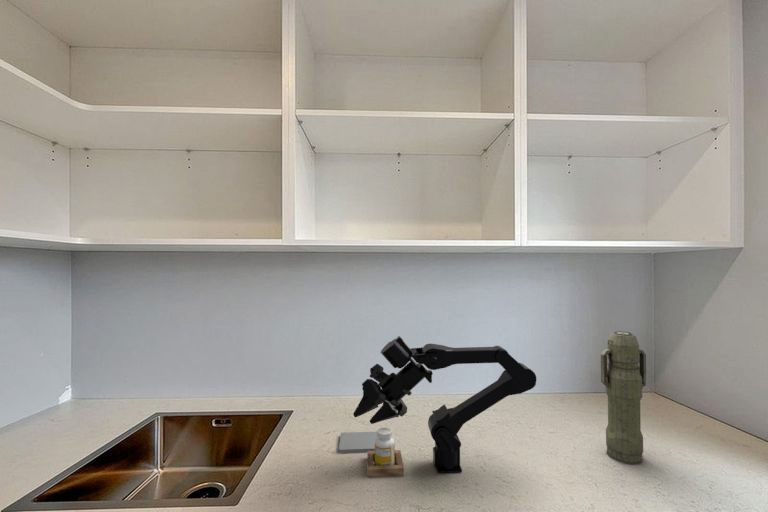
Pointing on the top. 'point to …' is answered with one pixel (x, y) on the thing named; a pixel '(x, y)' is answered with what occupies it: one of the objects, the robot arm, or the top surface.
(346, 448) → the mat
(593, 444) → the top surface
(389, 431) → the supplement bottle
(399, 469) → the holder
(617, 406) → the thermos
